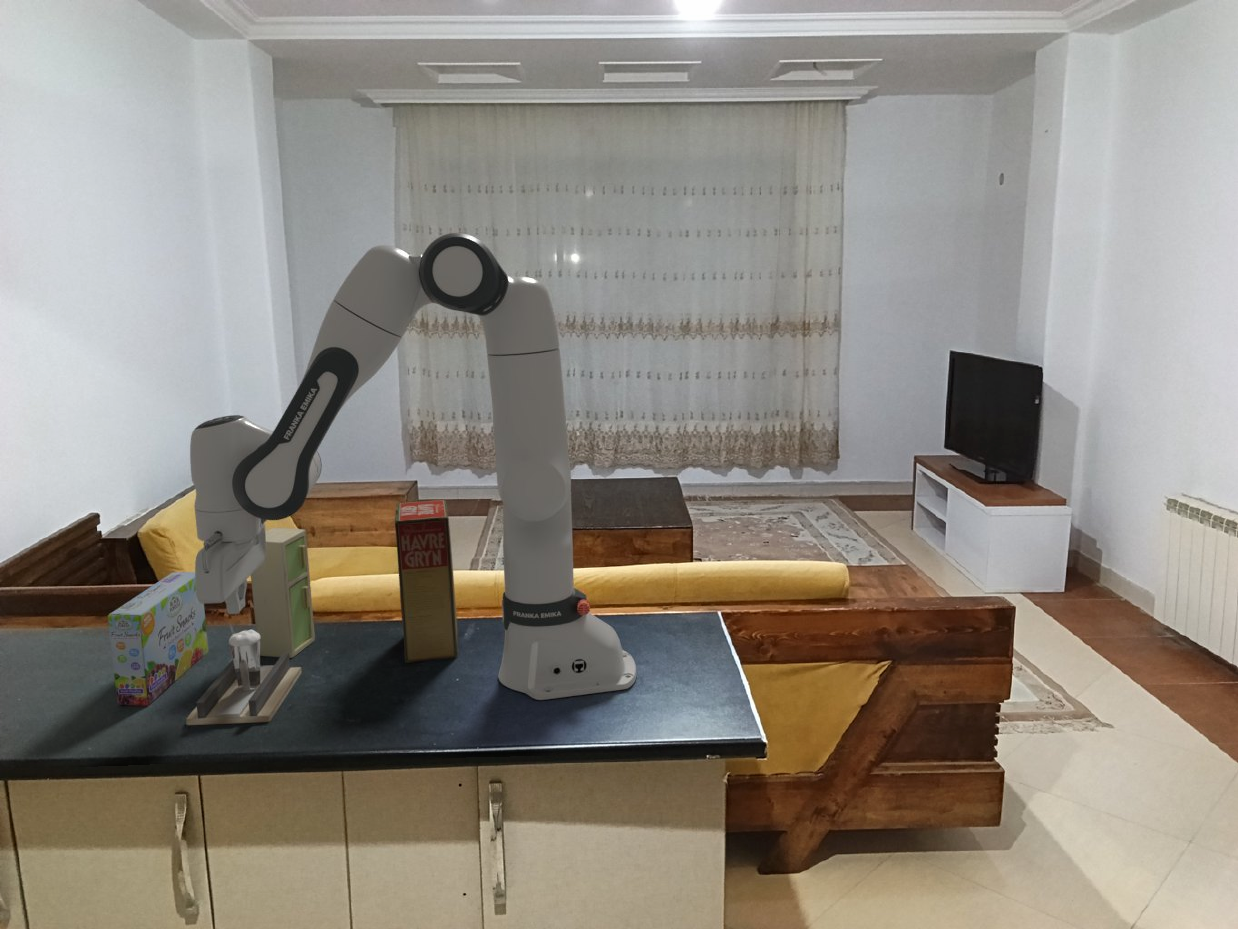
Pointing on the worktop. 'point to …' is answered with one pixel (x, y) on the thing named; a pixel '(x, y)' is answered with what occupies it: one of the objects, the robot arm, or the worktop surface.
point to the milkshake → (246, 658)
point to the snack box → (157, 638)
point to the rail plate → (245, 696)
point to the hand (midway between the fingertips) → (236, 610)
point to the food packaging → (426, 580)
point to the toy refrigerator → (283, 594)
